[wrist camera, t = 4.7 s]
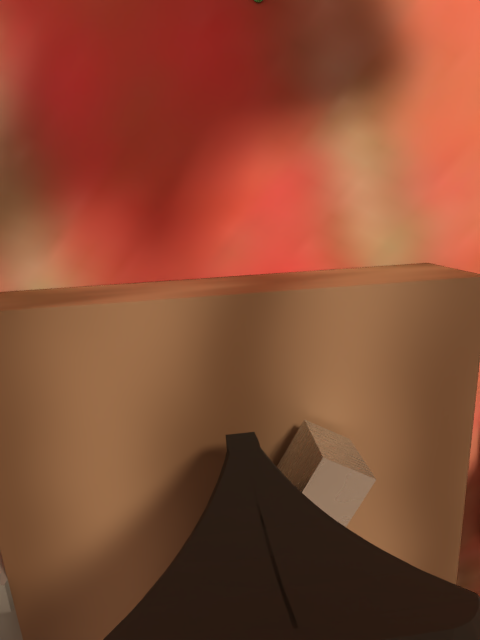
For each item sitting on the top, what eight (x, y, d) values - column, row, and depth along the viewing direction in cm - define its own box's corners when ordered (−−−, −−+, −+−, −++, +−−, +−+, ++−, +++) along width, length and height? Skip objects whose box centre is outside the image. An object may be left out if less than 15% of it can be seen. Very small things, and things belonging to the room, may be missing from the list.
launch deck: (428, 263, 14) (488, 276, 11) (400, 692, 19) (435, 778, 16) (-1, 292, 13) (-60, 315, 10) (94, 737, 18) (73, 838, 15)
